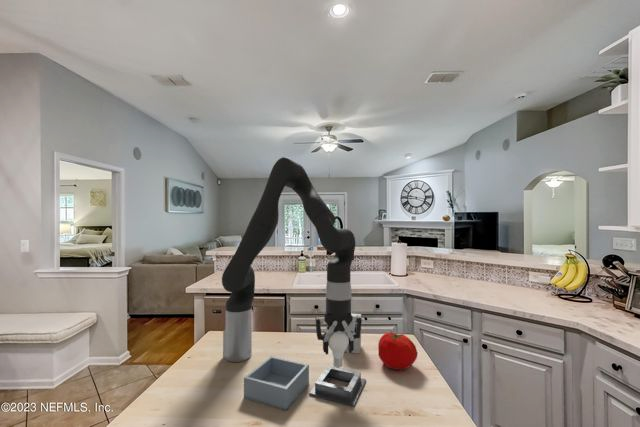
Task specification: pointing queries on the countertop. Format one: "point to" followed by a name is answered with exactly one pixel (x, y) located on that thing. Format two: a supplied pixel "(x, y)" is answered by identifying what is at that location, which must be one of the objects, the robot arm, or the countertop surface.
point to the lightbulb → (338, 346)
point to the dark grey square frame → (339, 392)
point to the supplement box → (358, 340)
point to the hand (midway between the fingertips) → (338, 352)
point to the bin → (276, 382)
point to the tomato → (397, 351)
